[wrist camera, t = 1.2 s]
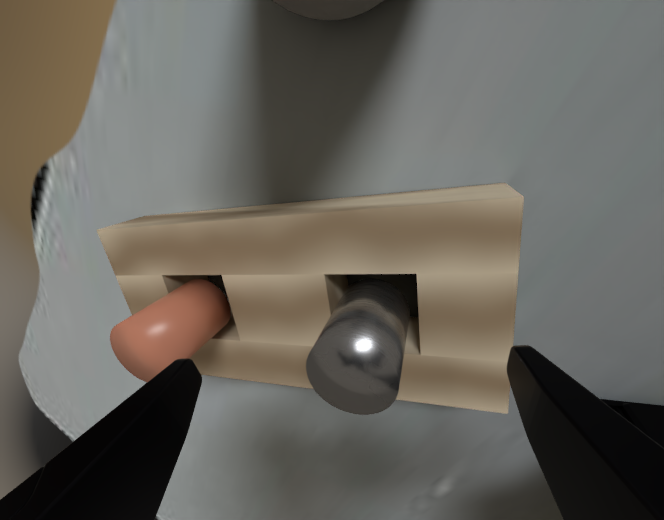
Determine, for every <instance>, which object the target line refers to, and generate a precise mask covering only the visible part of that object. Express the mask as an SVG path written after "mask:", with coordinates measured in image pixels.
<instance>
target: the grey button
mask: <svg viewBox="0 0 664 520" xmlns="http://www.w3.org/2000/svg"><path fill="white" fill-rule="evenodd" d="M409 317H410V309H409V305H408V302H407V300H406V298H405V296H404V295H403V294H402V293H401V291H400V290H398V289H397V288H396V287H395V286H393V285H392V284H390V283H388V282H386V281H382V280H378V279H363V280H360V281H357V282H355V283H353V284H352V285H350V286H349V287H348V288H347V289H346V290H345V292H344V294H343V295H342V297H341V299H340V301H339V302H338V304H337V306H336V308H335V309H334V311H333V313H332V315H331V316H330V318H329V320H328V322H327V323H326V325H325V327H324V328H323V330H322V332H321V334H320V335H319V337H318V339H317V341H316V342H315V344H314V346H313V348H312V349H311V351H310V353H309V355H308V357H307V361H306V372H307V376H308V379H309V381H310V383H311V385H312V387H313V388H314V390H315V391H316V392H317V393H318V394H319V395H320V396H321V397H322V398H323V399H324V400H325V401H327V402H328V403H329V404H331V405H332V406H334V407H336V408H338V409H340V410H343V411H346V412H349V413H353V414H361V415H368V414H374V413H378V412H381V411H383V410H385V409H387V408H388V407H389V406H391V405H392V403H393V402H394V401H395V399H396V398H397V395H398V391H399V385H400V378H401V372H402V365H403V358H404V351H405V344H406V337H407V331H408V324H409Z"/></svg>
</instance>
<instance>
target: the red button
mask: <svg viewBox="0 0 664 520" xmlns="http://www.w3.org/2000/svg"><path fill="white" fill-rule="evenodd" d="M230 315H231V310H230V305H229V302H228V300H227V298H226V296H225V295H224V294H223V292H222V291H221V290H220V289H219V288H218V287H217V286H216V285H214V284H213V283H211V282H209V281H207V280H203V279H193V280H190V281H188V282H187V283H185V284H183V285H182V286H180V287H178V288H177V289H175V290H173V291H172V292H170V293H169V294H167V295H165V296H164V297H162V298H160V299H159V300H157V301H155V302H154V303H152V304H150V305H149V306H147V307H145V308H144V309H142V310H140V311H139V312H137V313H135V314H134V315H132V316H131V317H129V318H127V319H126V320H124V321H122V322H121V323H119V324H117V325H116V326H114V328H113V329H112V331H111V334H110V341H111V346H112V349H113V351H114V353H115V355H116V357H117V358H118V360H119V361H120V362H121V364H122V365H123V366H124V367H125V368H126V369H127V370H128V371H129V372H130V373H132V374H133V375H134V376H136V377H137V378H139V379H141V380H143V381H145V382H149V381H150V380H151V379H152V378H154V377H155V376H156V375H157V374H159V373H160V372H161V371H162V370H164V369H165V368H166V367H167V366H169V365H170V364H171V363H172V362H174V361H175V360H177V359H182V358H190V357H191V356H192V355H194V354H195V353H196V352H197V351H198V350H199V349H200V348H201V347H202V346H203V345H204V344H206V343H207V342H208V341H209V340H210V339H211V338H212V337H213V336H214V335H215V334H216V333H218V332H219V331H220V330H221V329H222V328H223V327H224V326H225V325H226V324H227V323H228V321H229V319H230Z"/></svg>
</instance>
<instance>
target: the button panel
mask: <svg viewBox="0 0 664 520" xmlns="http://www.w3.org/2000/svg"><path fill="white" fill-rule="evenodd" d="M523 201H524V197H523V196H522V195H521V194H519V193H518V192H517V191H515V190H514V189H513V188H511V187H510V186H509V185H507V184H506V183H497V184H486V185H476V186H465V187H454V188H443V189H432V190H421V191H411V192H400V193H389V194H378V195H367V196H356V197H346V198H335V199H324V200H313V201H302V202H291V203H280V204H270V205H259V206H248V207H237V208H226V209H215V210H205V211H194V212H183V213H172V214H161V215H150V216H143V217H139V218H136V219H133V220H129V221H126V222H122V223H119V224H115V225H112V226H108V227H105V228H102V229H98V230H97V232H98V235H99V237H100V240H101V242H102V244H103V247H104V249H105V251H106V254H107V256H108V259H109V261H110V263H111V266H112V268H113V271H114V273H115V275H116V278H117V280H118V282H119V285H120V287H121V290H122V292H123V294H124V297H125V299H126V302H127V304H128V306H129V309H130V311H131V313H132V315H134V314H135V313H137V312H139V311H140V310H142V309H144V308H145V307H147V306H149V305H150V304H152V303H154V302H155V301H157V300H159V299H160V298H162V297H164V296H165V295H167V294H169V293H170V292H172V291H173V290H175V289H177V288H178V287H180V286H182V285H183V284H185V283H187V282H188V281H190V280H193V279H203V280H207V281H209V279H208V276H207V275H222V279H223V282H224V286H225V289H226V292H227V296H228V299H229V303H230V306H231V315H230V319H229V321H228V323H227V324H226V325H225V326H224V327H223V328H222V329H221V330H220V331H219V332H218V333H216V334H215V335H214V336H213V337H212V338H211V339H210V340H209V341H208V342H207V343H206V344H204V345H203V346H202V347H201V348H200V349H199V350H198V351H197V352H196V353H195V354H194V355H192V356H191V357H190V359H192V360H193V362H194V363H195V365H196V367H197V369H198V370H199V372H200V374H202V375H210V376H217V377H225V378H233V379H241V380H249V381H256V382H264V383H272V384H280V385H287V386H295V387H303V388H311V389H314V388H313V387H312V385H311V383H310V381H309V379H308V376H307V372H306V361H307V357H308V355H309V353H310V351H311V349H312V348H313V346H314V344H315V342H316V341H317V339H318V337H319V335H320V334H321V332H322V330H323V328H324V327H325V325H326V323H327V322H328V320H329V318H330V316H331V315H332V313H333V311H334V309H335V308H336V306H337V304H338V302H339V301H340V299H341V297H342V295H343V294H344V292H345V290H346V289H347V288H348V280H347V274H417V293H418V313H419V317H409V324H408V331H407V337H406V344H405V351H404V358H403V365H402V372H401V378H400V385H399V391H398V395H397V398H396V400H404V401H412V402H420V403H427V404H435V405H443V406H451V407H459V408H466V409H474V410H482V411H490V412H497V413H505V414H508V405H509V391H510V382H509V379H508V375H507V362H508V357H509V353H510V349H511V347H512V346H513V337H514V324H515V310H516V296H517V283H518V269H519V256H520V242H521V229H522V215H523Z"/></svg>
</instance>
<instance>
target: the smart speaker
mask: <svg viewBox="0 0 664 520" xmlns="http://www.w3.org/2000/svg"><path fill="white" fill-rule="evenodd" d="M273 1H274V2H275V3H277V4H278V5H280V6H282V7H284V8H285V9H287V10H289V11H291V12H293V13H296V14H298V15H301V16H304V17H307V18H312V19H318V20H341V19H347V18H351V17H354V16H357V15H359V14H362V13H364V12H366V11H368V10H370V9H372V8H373V7H375V6H376V5H378V4H379V3H381V2H382V1H383V0H273Z"/></svg>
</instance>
